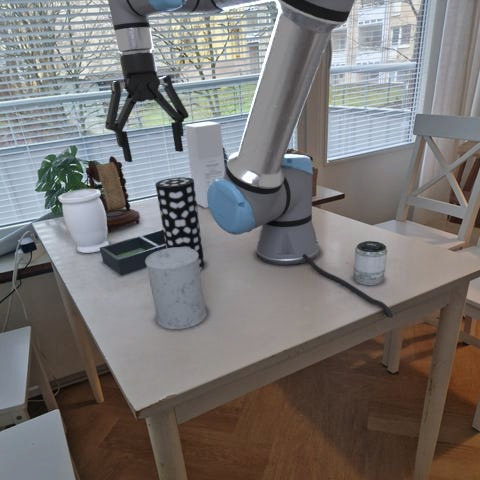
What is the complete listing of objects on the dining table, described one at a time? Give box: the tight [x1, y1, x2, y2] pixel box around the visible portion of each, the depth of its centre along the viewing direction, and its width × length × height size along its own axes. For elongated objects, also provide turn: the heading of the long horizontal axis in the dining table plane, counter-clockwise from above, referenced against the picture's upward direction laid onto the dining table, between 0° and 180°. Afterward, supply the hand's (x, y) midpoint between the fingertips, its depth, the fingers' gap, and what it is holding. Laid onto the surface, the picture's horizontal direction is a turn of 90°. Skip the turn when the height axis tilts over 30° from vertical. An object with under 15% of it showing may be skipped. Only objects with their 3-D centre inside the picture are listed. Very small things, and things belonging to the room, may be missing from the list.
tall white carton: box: [184, 121, 226, 209], centre depth 142 cm, size 9×9×25 cm
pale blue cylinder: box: [145, 247, 207, 330], centre depth 80 cm, size 10×10×12 cm
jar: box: [57, 188, 110, 254], centre depth 115 cm, size 11×10×15 cm
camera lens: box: [353, 240, 388, 286], centre depth 89 cm, size 6×6×8 cm
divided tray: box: [99, 228, 167, 277], centre depth 110 cm, size 11×22×4 cm, turn 127°
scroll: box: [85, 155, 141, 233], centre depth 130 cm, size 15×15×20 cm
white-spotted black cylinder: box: [155, 176, 205, 271], centre depth 98 cm, size 8×8×20 cm
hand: (154, 156), depth 104 cm, fingers open, 13 cm apart
